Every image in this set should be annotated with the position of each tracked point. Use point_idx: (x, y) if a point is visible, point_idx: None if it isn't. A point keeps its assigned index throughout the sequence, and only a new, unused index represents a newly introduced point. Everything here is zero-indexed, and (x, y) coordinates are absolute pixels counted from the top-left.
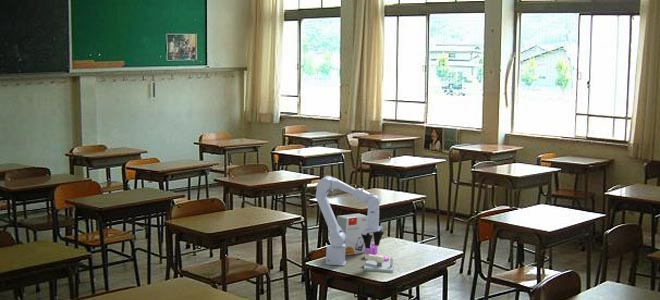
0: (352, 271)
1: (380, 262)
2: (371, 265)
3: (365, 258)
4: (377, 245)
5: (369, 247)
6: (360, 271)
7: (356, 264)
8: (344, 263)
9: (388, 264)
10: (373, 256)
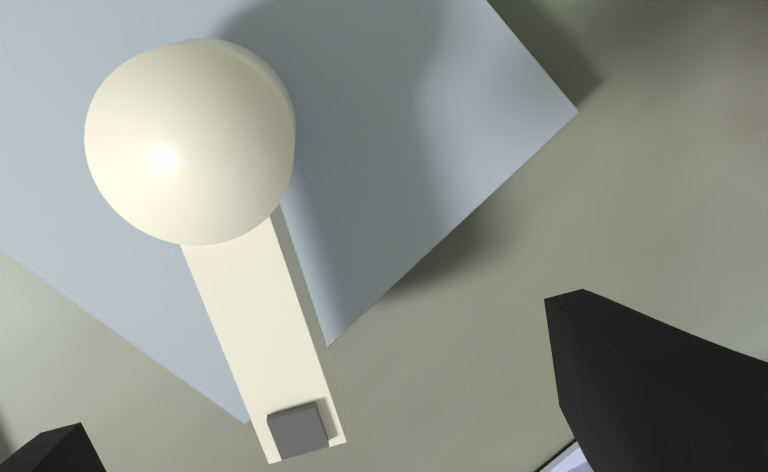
0: (736, 147)
1: (244, 49)
2: (357, 173)
3: (339, 386)
4: (86, 443)
5: (583, 299)
6: (645, 86)
7: (425, 398)
8: (578, 459)
9: (9, 70)
10: (287, 264)
